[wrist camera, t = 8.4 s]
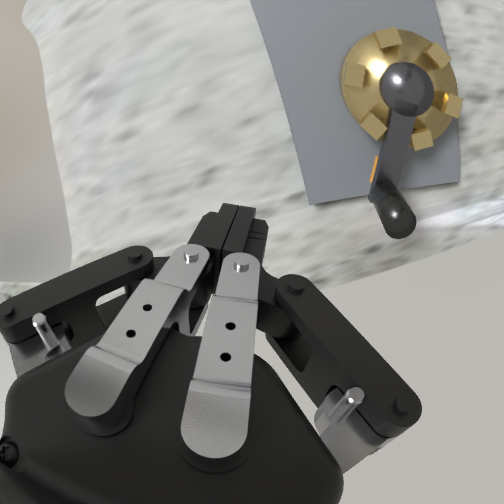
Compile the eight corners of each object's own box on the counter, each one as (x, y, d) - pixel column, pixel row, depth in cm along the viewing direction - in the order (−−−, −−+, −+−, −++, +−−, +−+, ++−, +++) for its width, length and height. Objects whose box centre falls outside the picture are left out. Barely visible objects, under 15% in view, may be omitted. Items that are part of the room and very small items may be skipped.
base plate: (421, -15, 15) (427, -18, 14) (453, 175, 26) (459, 181, 24) (252, 3, 19) (249, 0, 18) (308, 198, 30) (309, 205, 29)
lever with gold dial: (346, 18, 18) (369, -2, 11) (452, 53, 17) (506, 58, 10) (321, 180, 27) (328, 226, 20) (417, 200, 26) (450, 249, 19)
